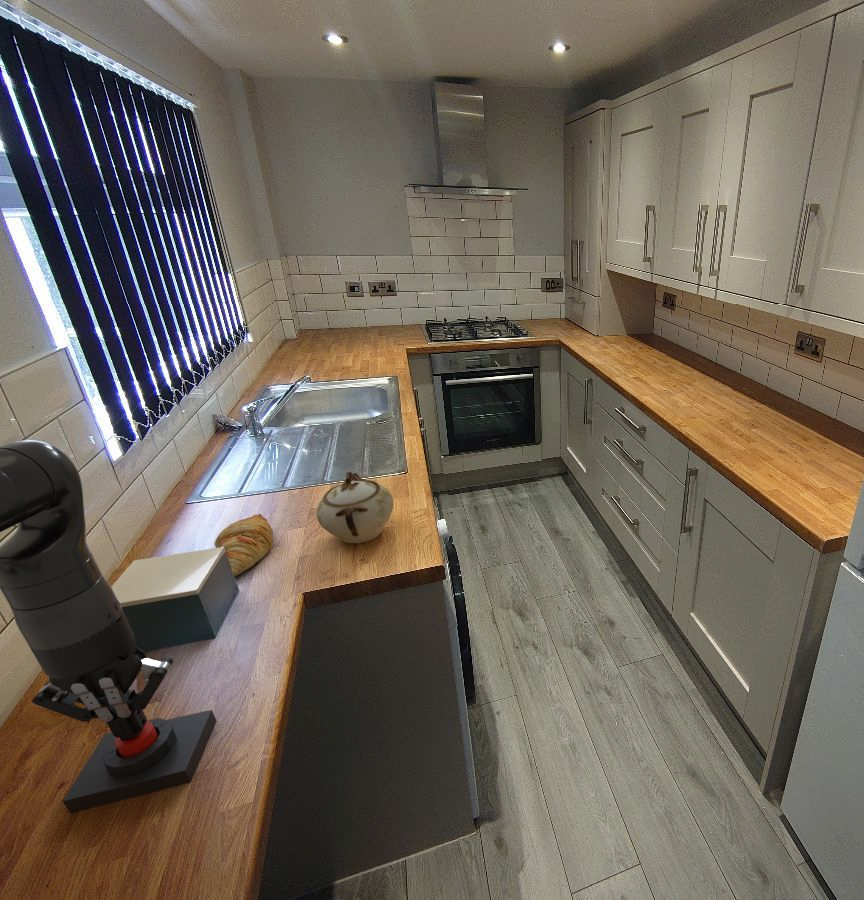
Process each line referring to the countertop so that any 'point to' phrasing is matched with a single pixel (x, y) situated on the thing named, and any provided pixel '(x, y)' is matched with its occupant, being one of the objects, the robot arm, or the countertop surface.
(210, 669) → the countertop surface
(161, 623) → the dark rectangular box
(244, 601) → the countertop surface
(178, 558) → the box lid
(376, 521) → the sugar bowl
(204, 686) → the countertop surface
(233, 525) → the croissant
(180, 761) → the switch block
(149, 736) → the button
